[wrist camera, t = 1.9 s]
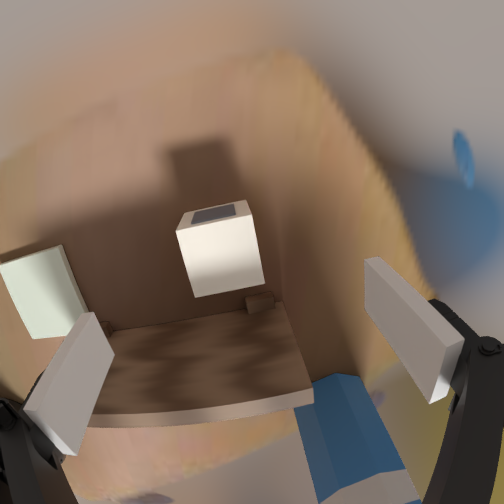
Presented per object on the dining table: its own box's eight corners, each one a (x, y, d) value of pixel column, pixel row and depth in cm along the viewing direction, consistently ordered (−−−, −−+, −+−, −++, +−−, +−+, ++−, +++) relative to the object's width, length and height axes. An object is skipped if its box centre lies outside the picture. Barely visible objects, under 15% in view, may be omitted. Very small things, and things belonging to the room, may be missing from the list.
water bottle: (295, 378, 31) (358, 593, 8) (371, 366, 32) (466, 544, 9) (289, 425, 35) (331, 597, 11) (356, 414, 35) (418, 566, 12)
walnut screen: (98, 355, 28) (65, 433, 18) (82, 325, 27) (39, 401, 16) (286, 325, 28) (314, 413, 18) (280, 289, 27) (311, 375, 17)
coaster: (35, 335, 27) (32, 339, 26) (2, 262, 23) (-2, 265, 23) (96, 327, 27) (93, 332, 26) (62, 244, 24) (58, 247, 23)
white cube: (199, 268, 26) (194, 297, 21) (184, 210, 24) (175, 228, 19) (257, 256, 26) (264, 283, 21) (245, 197, 24) (251, 212, 19)
